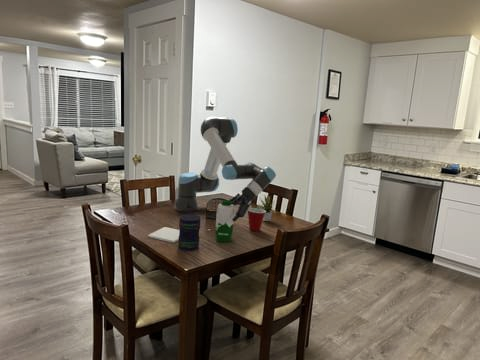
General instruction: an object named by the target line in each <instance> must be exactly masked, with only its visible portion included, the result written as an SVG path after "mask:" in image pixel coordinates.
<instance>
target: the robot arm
mask: <svg viewBox="0 0 480 360" xmlns="http://www.w3.org/2000/svg"><path fill="white" fill-rule="evenodd" d="M238 132H239V131H238V124H237V121H236V120H235V119H234V118H230V117H220V116H218V117H217V116H209V117H206V118H205V119H204V120H203V121H202V123H201V126H200V134H201V137H202V138H203V140H204V141H205V142H207V144H208V145H209V147H210V150H209V153H208V156H207V159H206V162H205V166H204V169H202V170H201V171H200V173H199V174H197V172H184V173H181V174H180V175H179V176H178V193H177V199H176V202H175V204H174V210H176V211H178V212H181V213H182V212H183V213H188V212H189V213H193V212H196V211H198V210H199V204H198V199H197V194H199V193H212V192H216V191H217V190H218V189H219V186H220V178H219V175H218V170H219V169H220V165H221V167H222V168H221V175H222V178H223V179H225V180H229V181H234V180H251V181H250V182H249V183H248V184H247V186H245V187H243V189H242V190H241V194H240V193H239V192H238V193H237V194H236V195H235V196H233V197H232V198H230V199H229V200H230V204H233V205H234V207H236V206H238V209H237V211H236V212H235V213H234V215H233V216H232V217H231V218H230V219H229V220H228V221H227V222H226V224H227V225H228V226H229V227H230V226H231V225H232V224H233V225H234V223H235V222H237V221H238V219H239V218H244V217H245V215H246V213H248V208H250V206H251V205H253V201H254V200H255V199H256V198H257V197H259V194H261V193H262V192H263V191H264V190H265V189H266V187H268V186H269V185H270V184H271V183H272V182H273V180H274V179H275V178H276V176H277V173H276V172H275V171H274V169H272V168H271V167H270V166H267V165H266V166H265V167H260V166H259V165H256V164H255V163H252V162H246V163H245V164H238V163H237V162H236V160H235V158H234V156H233V155H232V154H231V152H230V150H229V148H228V147H227V145H228V144H229V143H231V140H232V138H236V137H237V134H238ZM215 216H217V213H216V215H215Z"/></svg>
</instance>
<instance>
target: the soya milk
mask: <svg viewBox="0 0 480 360" xmlns="http://www.w3.org/2000/svg"><path fill="white" fill-rule="evenodd" d="M221 201H222V202H221V203H218V206H217V208H216V214H217V216H216V215H215V216H216V220H215V240H216V241H215V242H219V243H220V242H222V243H231V239H232V237H233V233H234V232H233V230H234V223H233V224H232V225H231V226H230V227H229V226H228V225H227V224H226V222H227V221H228V220H229V219H230V218H231V217H232V216H233V215H234V214H235V206H234V205H233V204H230V199H223V200H221Z"/></svg>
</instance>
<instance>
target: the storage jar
mask: <svg viewBox="0 0 480 360" xmlns="http://www.w3.org/2000/svg"><path fill="white" fill-rule="evenodd" d="M201 218H202V217H201V216H200V215H197V214H193V213H191V214H190V213H186V214H185V213H183V214H181V215H180V216H179V222H178V225H179V226H178V228H179V229H178V230H180V232H179V237H178V238H179V239H178V241H177V242H178V244H177V245H178V246H177V247H178V250H181V251H183V252H195V251H197V250H199V248H200V230H201Z"/></svg>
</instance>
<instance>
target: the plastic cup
mask: <svg viewBox="0 0 480 360" xmlns="http://www.w3.org/2000/svg"><path fill="white" fill-rule="evenodd" d="M263 209H264V208H256V207H249V208H248V210H247V217H248V225H249V227H248V228H249V230H250V231H251V230H252V231H251V232H255V231H257V232H260V231H261V227H262V223H263V217H264V214H265V213H266V211H265V210H263ZM259 230H260V231H259Z"/></svg>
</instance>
